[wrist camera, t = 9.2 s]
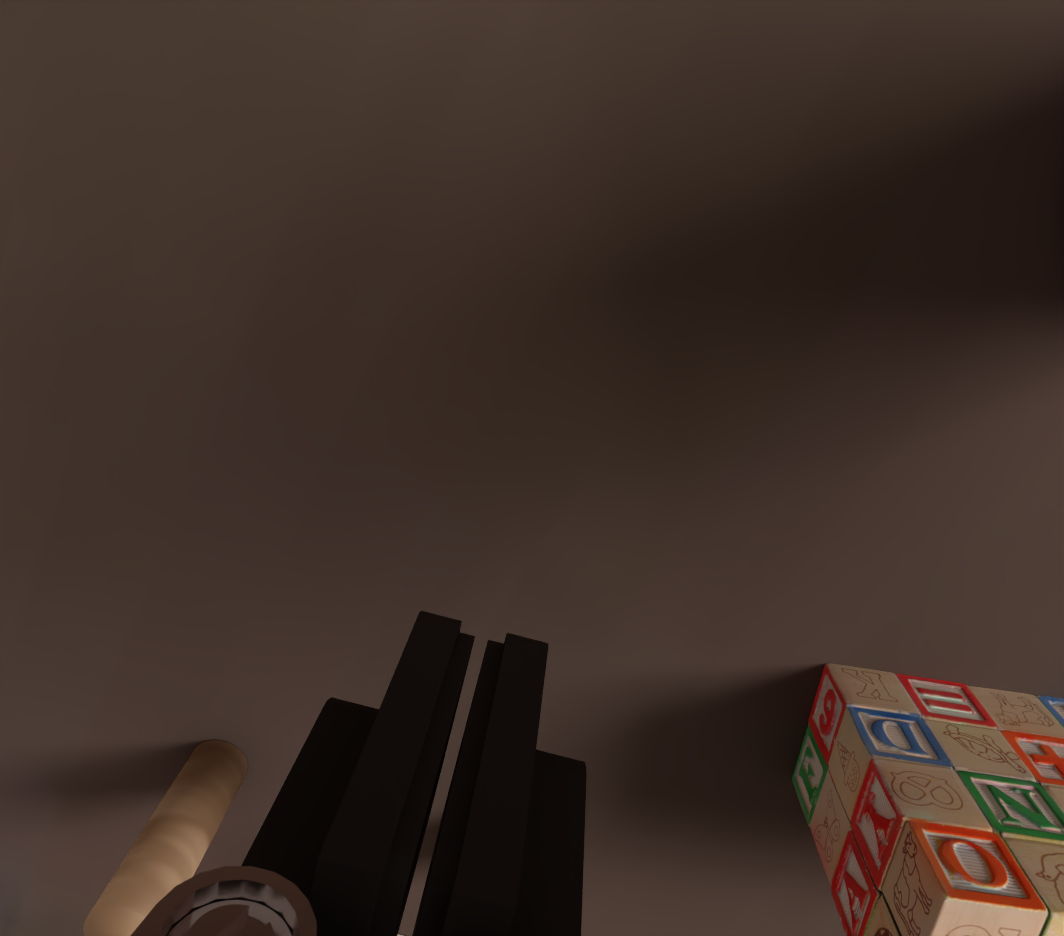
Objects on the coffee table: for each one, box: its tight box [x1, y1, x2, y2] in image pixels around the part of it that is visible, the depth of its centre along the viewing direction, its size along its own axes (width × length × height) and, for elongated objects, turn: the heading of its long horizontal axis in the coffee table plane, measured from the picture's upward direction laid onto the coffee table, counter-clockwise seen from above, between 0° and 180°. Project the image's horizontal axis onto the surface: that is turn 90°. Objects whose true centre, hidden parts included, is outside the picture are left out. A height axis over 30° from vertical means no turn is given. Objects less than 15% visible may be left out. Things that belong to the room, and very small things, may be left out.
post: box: [83, 740, 248, 936], centre depth 34 cm, size 3×3×9 cm
